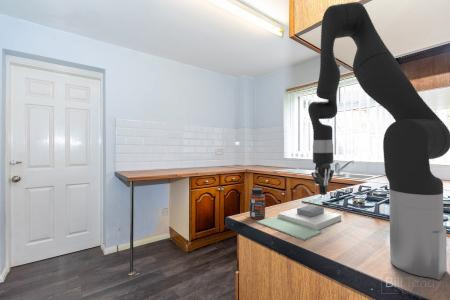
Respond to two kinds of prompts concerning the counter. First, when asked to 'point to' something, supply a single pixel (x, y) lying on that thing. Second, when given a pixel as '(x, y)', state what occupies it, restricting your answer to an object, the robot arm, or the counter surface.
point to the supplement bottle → (257, 204)
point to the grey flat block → (310, 211)
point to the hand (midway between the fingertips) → (323, 194)
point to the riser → (310, 219)
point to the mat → (289, 228)
